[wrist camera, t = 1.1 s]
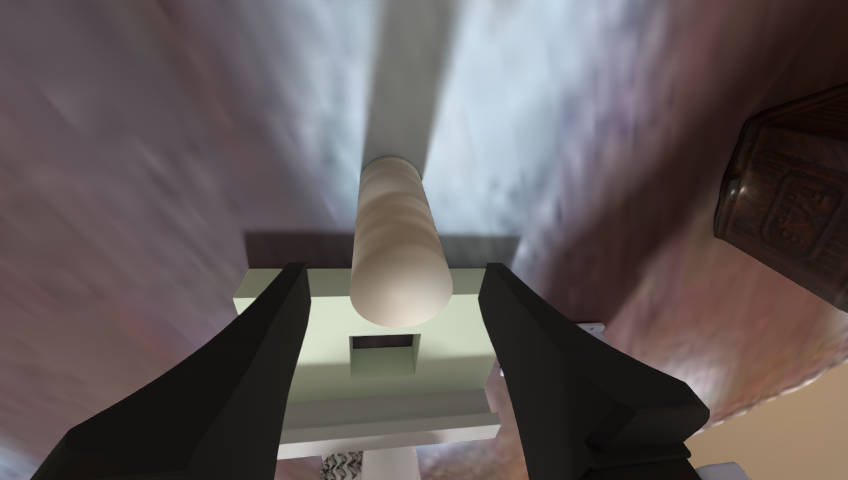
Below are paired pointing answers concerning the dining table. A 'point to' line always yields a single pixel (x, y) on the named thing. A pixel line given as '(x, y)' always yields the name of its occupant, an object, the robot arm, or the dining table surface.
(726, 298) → the dining table surface
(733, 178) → the pepper mill
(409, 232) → the peg
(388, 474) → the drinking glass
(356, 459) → the decorative candle
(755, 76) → the dining table surface
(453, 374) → the socket board
